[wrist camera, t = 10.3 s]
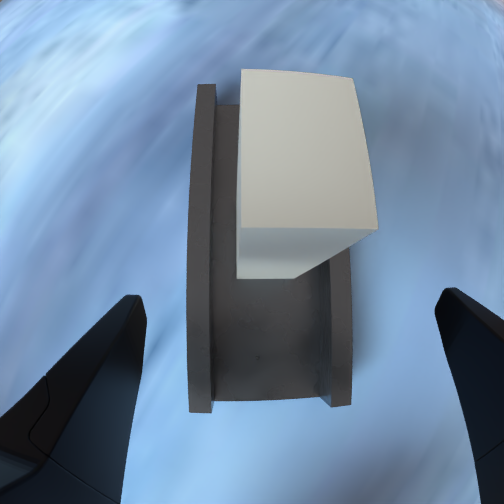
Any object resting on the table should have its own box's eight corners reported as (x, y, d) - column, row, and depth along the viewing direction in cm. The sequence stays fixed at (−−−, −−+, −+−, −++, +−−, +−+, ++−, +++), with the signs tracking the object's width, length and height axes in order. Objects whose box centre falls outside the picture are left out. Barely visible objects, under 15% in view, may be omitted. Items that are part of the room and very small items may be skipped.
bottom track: (334, 392, 19) (351, 404, 16) (195, 398, 18) (189, 412, 15) (319, 113, 23) (329, 89, 20) (201, 110, 22) (197, 84, 19)
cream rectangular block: (294, 278, 20) (378, 229, 8) (236, 279, 19) (241, 227, 8) (291, 200, 21) (352, 78, 9) (236, 199, 20) (241, 69, 9)
